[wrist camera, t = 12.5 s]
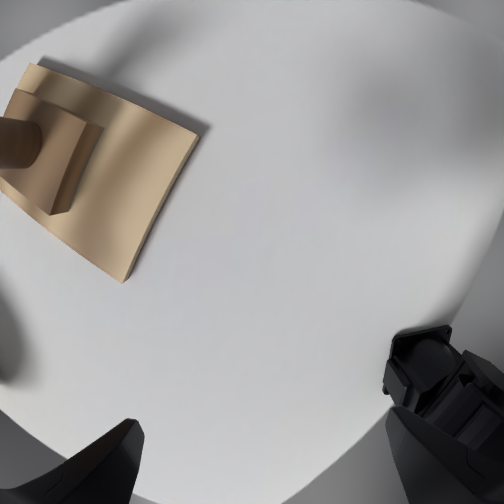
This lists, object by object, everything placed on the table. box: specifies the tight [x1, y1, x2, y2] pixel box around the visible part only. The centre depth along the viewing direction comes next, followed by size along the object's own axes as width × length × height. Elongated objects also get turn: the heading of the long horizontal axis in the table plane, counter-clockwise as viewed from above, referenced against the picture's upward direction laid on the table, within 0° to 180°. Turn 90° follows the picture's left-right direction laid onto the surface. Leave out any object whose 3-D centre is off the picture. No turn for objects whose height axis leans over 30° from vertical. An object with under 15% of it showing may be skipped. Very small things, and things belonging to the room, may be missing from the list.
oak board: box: [0, 63, 200, 283], centre depth 18 cm, size 20×12×1 cm, turn 59°
